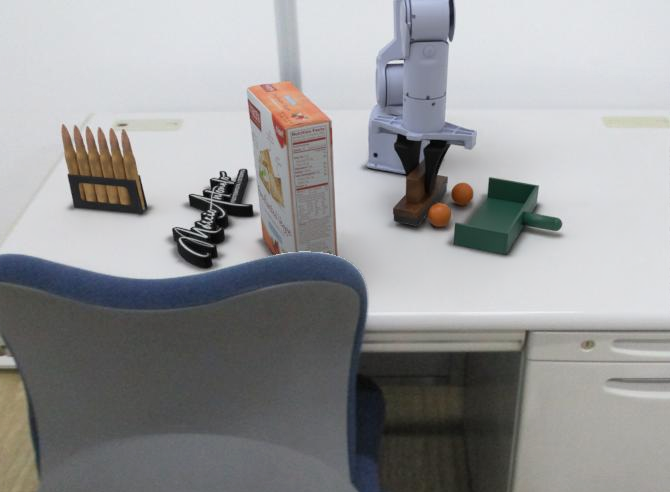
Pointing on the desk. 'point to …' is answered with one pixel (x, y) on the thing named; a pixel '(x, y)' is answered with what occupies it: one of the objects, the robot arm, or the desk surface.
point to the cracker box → (293, 169)
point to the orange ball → (462, 193)
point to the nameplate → (212, 218)
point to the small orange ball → (439, 214)
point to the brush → (418, 197)
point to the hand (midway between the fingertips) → (421, 189)
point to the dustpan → (503, 217)
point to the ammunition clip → (103, 173)
